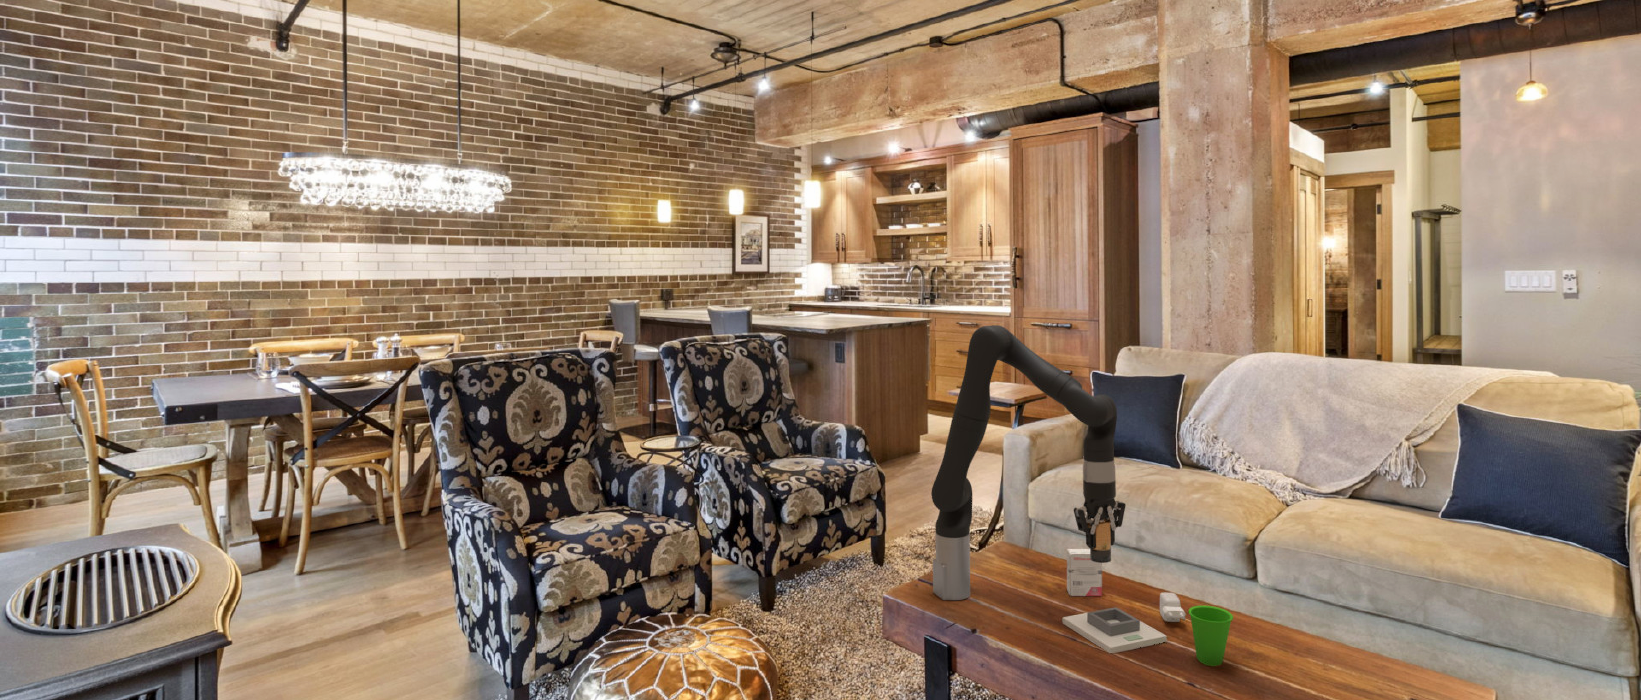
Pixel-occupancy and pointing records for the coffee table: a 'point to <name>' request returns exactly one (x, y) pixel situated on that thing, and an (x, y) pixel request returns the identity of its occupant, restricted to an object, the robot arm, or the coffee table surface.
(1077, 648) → the coffee table surface
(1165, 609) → the power adapter
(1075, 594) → the ink box
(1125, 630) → the board
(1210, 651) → the cup
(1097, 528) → the battery cell
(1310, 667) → the coffee table surface
